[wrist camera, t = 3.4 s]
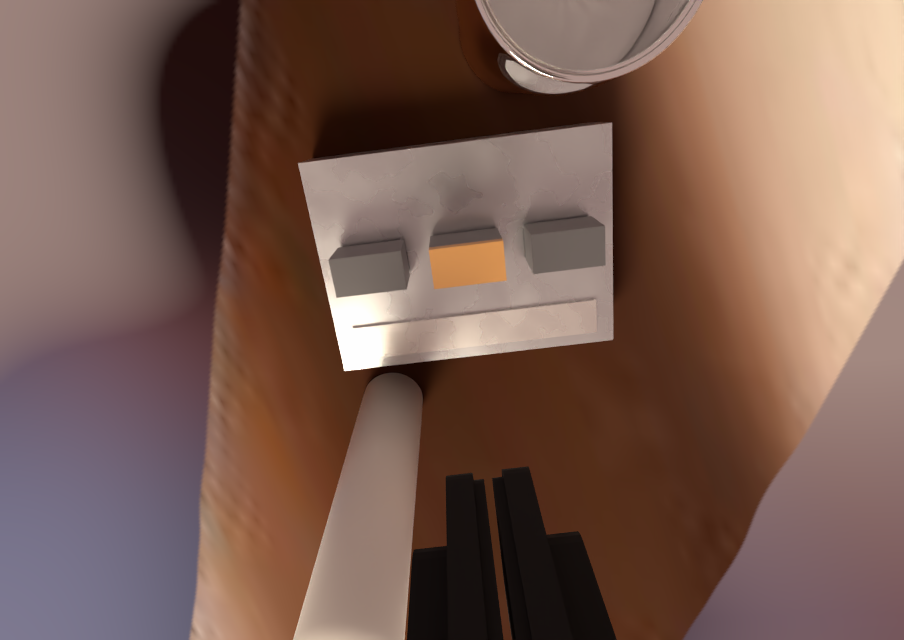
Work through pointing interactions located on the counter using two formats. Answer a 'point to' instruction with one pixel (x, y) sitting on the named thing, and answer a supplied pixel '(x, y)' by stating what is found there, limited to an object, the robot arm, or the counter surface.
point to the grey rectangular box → (370, 268)
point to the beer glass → (565, 40)
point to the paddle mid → (467, 258)
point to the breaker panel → (461, 210)
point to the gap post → (369, 523)
